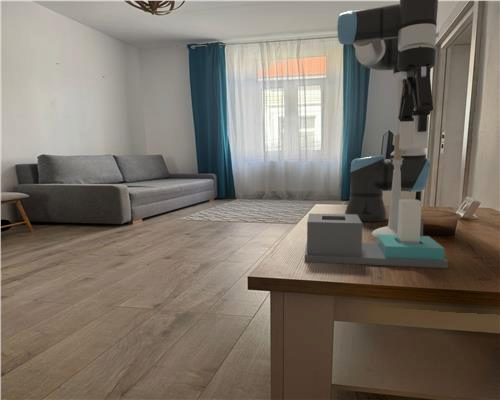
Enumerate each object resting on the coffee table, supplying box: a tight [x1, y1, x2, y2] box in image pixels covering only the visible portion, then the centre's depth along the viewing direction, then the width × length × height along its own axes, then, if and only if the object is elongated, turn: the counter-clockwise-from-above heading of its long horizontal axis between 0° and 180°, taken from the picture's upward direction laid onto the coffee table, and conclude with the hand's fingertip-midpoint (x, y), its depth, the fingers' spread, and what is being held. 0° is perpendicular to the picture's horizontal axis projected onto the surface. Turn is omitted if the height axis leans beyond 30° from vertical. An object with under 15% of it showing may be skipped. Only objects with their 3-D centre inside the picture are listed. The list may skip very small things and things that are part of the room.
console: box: [304, 213, 449, 269], centre depth 86 cm, size 30×14×9 cm, turn 79°
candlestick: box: [371, 133, 404, 239], centre depth 105 cm, size 13×13×30 cm
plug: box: [397, 198, 425, 244], centre depth 84 cm, size 5×4×12 cm
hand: (412, 148), depth 82 cm, fingers open, 13 cm apart
